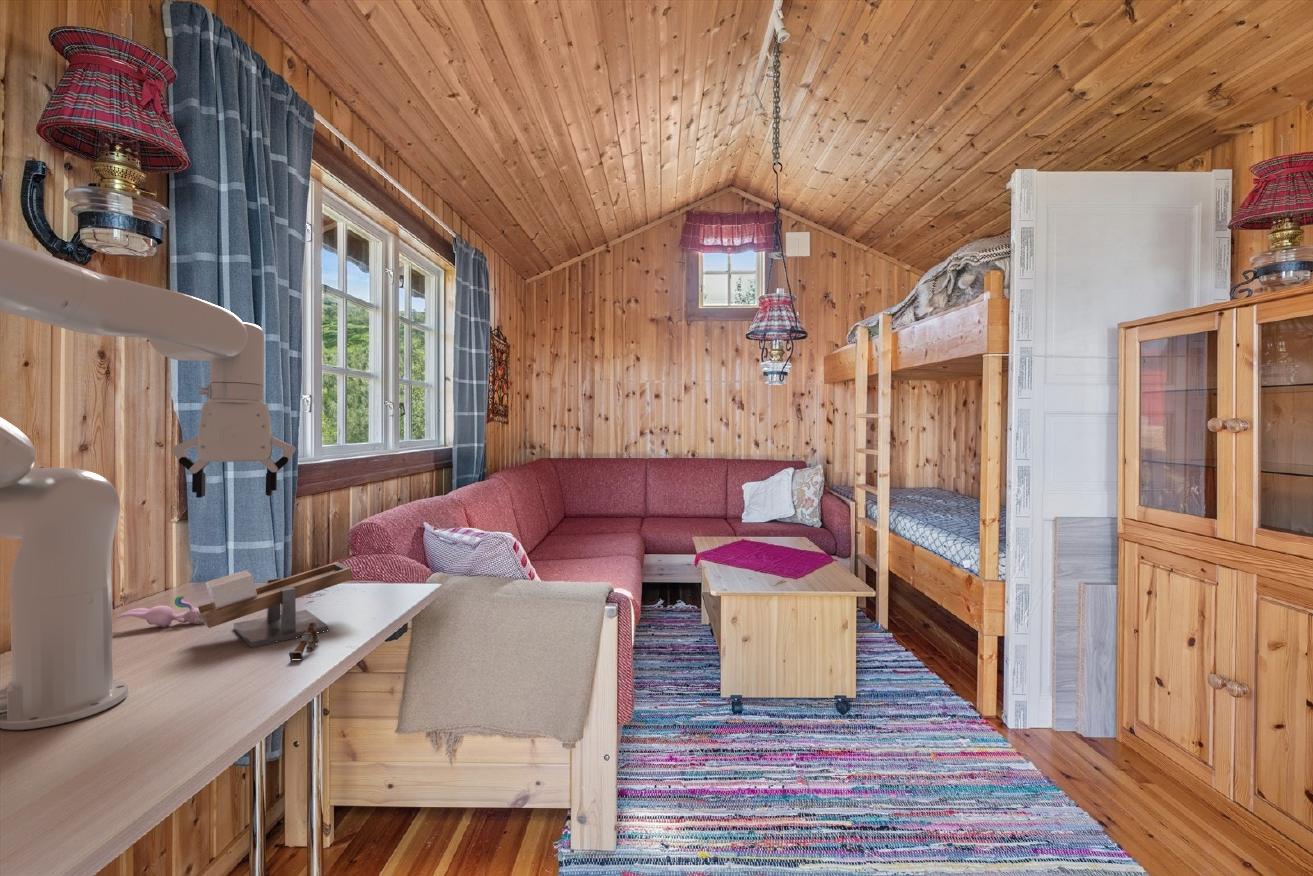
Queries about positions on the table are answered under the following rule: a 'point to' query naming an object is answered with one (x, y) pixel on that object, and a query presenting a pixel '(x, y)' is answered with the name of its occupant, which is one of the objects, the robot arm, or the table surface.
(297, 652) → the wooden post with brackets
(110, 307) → the robot arm
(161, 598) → the table surface
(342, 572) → the balance beam
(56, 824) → the table surface
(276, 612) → the pivot stand
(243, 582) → the white block
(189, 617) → the pink animal figure
